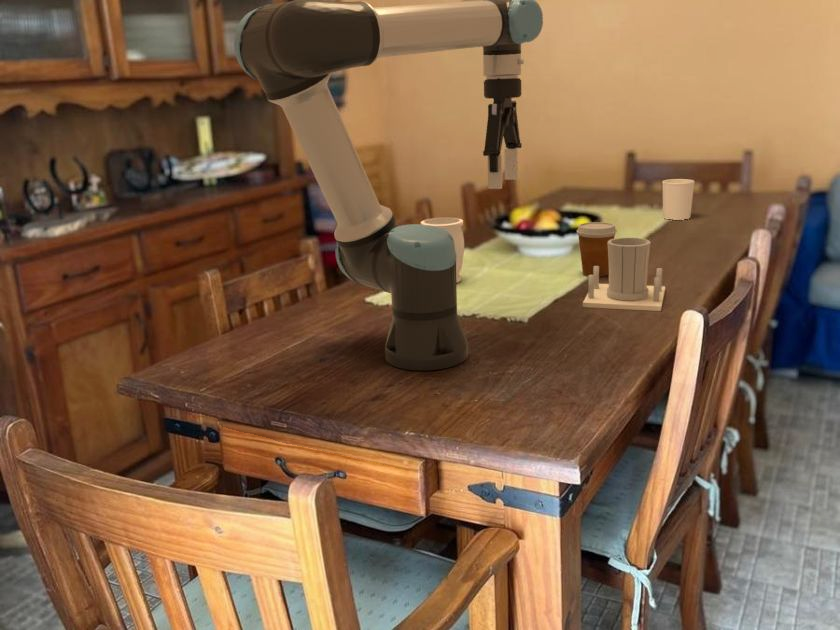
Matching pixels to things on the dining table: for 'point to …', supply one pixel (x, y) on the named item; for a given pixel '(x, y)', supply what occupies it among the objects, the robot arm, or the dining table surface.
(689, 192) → the candle holder
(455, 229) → the jar
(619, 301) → the beige flat pegged board
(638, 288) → the cup
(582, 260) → the disposable coffee cup
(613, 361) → the dining table surface
